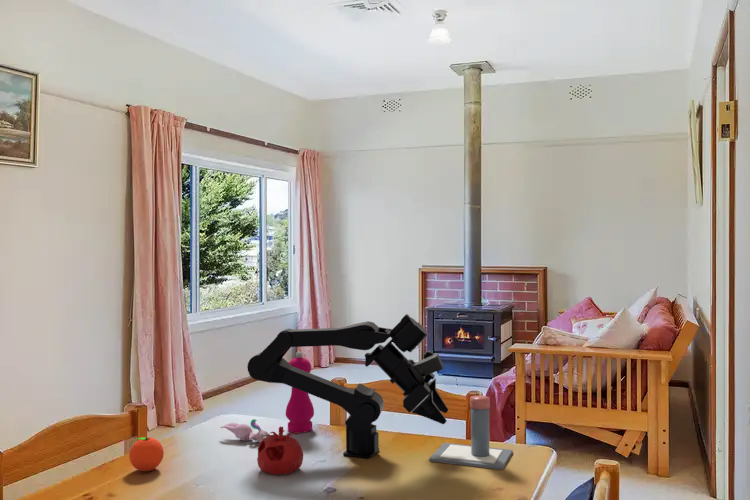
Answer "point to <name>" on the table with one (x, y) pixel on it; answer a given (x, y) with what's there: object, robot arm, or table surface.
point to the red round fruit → (279, 454)
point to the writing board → (470, 456)
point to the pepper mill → (300, 402)
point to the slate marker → (480, 425)
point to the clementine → (146, 454)
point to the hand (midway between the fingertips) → (446, 417)
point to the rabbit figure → (247, 431)
